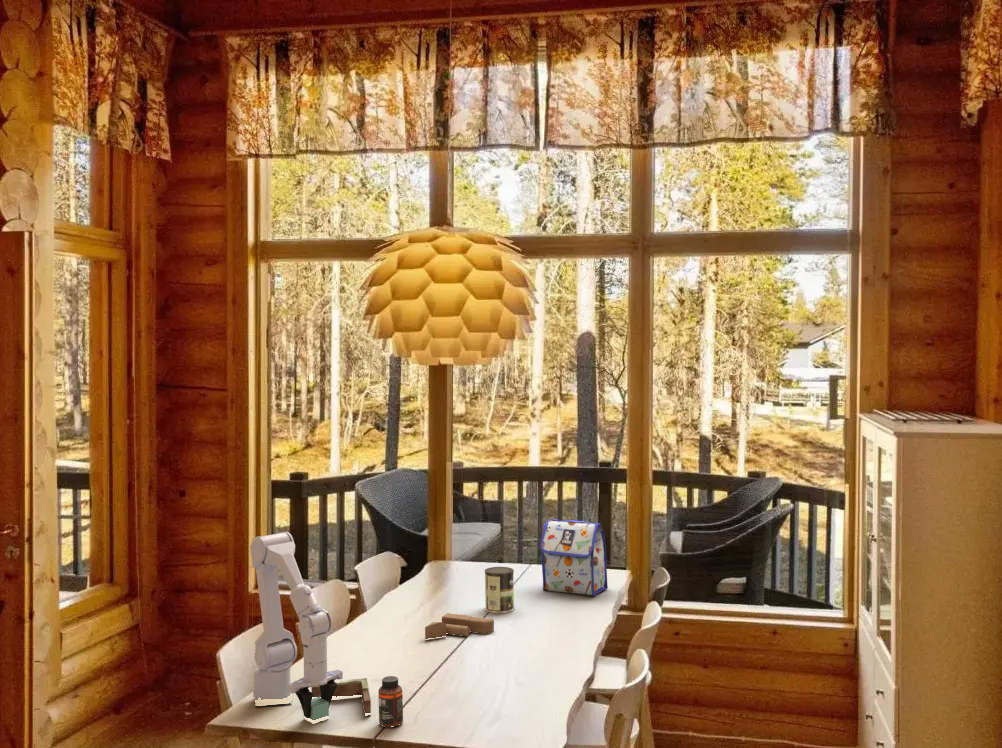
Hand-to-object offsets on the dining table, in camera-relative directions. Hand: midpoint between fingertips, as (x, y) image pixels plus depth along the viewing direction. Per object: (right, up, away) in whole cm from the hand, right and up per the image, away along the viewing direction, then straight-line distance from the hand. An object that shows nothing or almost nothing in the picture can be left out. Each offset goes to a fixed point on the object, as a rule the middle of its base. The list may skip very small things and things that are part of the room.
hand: (316, 713), depth 227 cm
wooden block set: (+33, 0, +65) cm, 73 cm away
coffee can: (+46, +1, +94) cm, 105 cm away
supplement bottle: (+19, -2, -3) cm, 19 cm away
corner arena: (+5, -1, +7) cm, 9 cm away
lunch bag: (+74, +2, +118) cm, 140 cm away
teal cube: (0, -1, 0) cm, 1 cm away
